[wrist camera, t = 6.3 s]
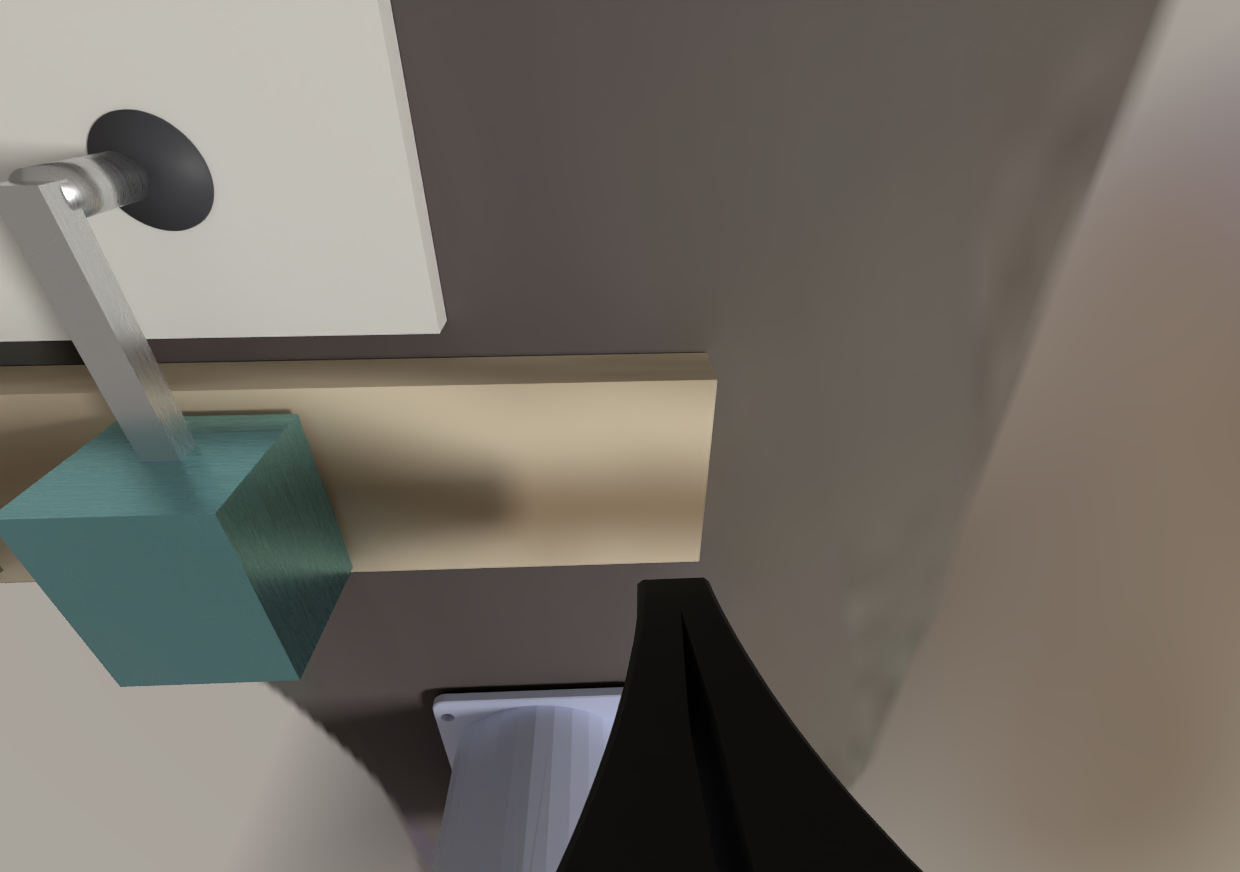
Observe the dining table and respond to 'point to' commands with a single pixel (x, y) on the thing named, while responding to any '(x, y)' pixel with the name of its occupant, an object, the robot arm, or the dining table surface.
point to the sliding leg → (163, 481)
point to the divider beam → (439, 450)
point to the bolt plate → (228, 163)
